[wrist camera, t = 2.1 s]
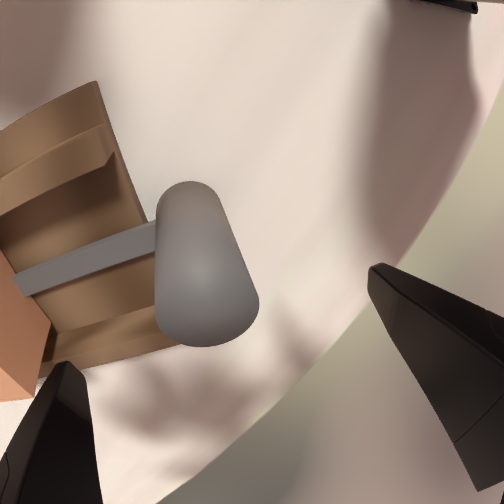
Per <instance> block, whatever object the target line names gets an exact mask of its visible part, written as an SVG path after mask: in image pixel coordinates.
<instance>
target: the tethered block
mask: <svg viewBox="0 0 504 504" xmlns="http://www.w3.org/2000/svg"><path fill="white" fill-rule="evenodd" d="M153 251H155V274H154V289H155V319H156V322H157V324H158V326H159V328H160V329H161V331H162V332H163V333H164V334H165V335H166V336H167V337H169V338H170V339H172V340H173V341H175V342H178V343H180V344H183V345H187V346H192V347H210V346H216V345H220V344H223V343H226V342H229V341H231V340H233V339H235V338H237V337H238V336H240V335H241V334H243V333H244V332H245V331H246V330H247V329H248V328H249V327H250V326H251V325H252V323H253V322H254V320H255V318H256V316H257V314H258V310H259V297H258V294H257V292H256V289H255V287H254V284H253V282H252V279H251V277H250V274H249V272H248V269H247V267H246V264H245V262H244V259H243V257H242V254H241V252H240V249H239V247H238V244H237V242H236V239H235V237H234V234H233V232H232V229H231V227H230V224H229V222H228V219H227V217H226V214H225V212H224V209H223V207H222V204H221V202H220V199H219V197H218V195H217V194H216V193H215V191H214V190H213V189H211V188H210V187H209V186H207V185H205V184H203V183H200V182H194V181H187V182H181V183H178V184H176V185H174V186H172V187H170V188H169V189H168V190H166V191H165V192H164V194H163V195H162V196H161V198H160V199H159V202H158V204H157V209H156V220H154V221H151V222H148V223H145V224H142V225H139V226H136V227H134V228H131V229H128V230H125V231H123V232H120V233H117V234H114V235H112V236H109V237H106V238H104V239H101V240H98V241H96V242H93V243H90V244H88V245H85V246H83V247H80V248H77V249H75V250H72V251H70V252H67V253H65V254H62V255H60V256H57V257H55V258H52V259H50V260H48V261H45V262H43V263H40V264H38V265H36V266H33V267H31V268H29V269H26V270H24V271H22V272H19V273H17V274H16V273H15V272H14V270H13V269H12V267H11V265H10V264H9V262H8V261H7V259H6V257H5V256H4V254H3V253H2V251H1V249H0V402H5V401H14V400H22V399H29V398H34V395H35V390H36V384H37V379H38V374H39V370H40V365H41V361H42V356H43V352H44V348H45V344H46V340H47V336H48V332H49V329H50V325H51V321H50V320H49V319H48V318H47V316H46V315H45V314H44V312H43V311H42V310H41V308H40V307H39V306H38V305H37V303H36V302H35V300H34V299H33V298H32V296H31V295H32V294H34V293H37V292H40V291H43V290H45V289H48V288H51V287H53V286H56V285H59V284H61V283H64V282H67V281H70V280H73V279H75V278H78V277H81V276H84V275H86V274H89V273H92V272H95V271H98V270H101V269H103V268H106V267H109V266H112V265H115V264H118V263H121V262H124V261H126V260H129V259H132V258H135V257H138V256H141V255H144V254H147V253H150V252H153Z"/></svg>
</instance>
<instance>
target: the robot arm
mask: <svg viewBox="0 0 504 504" xmlns="http://www.w3.org/2000/svg"><path fill="white" fill-rule="evenodd" d="M411 1H417V2H423V3H428V4H433V5H437V6H442V7H446V8H450V9H454V10H458V11H462V12H466V13H469V14H477V13H478V6H477V2H489V3H501V4H504V0H411ZM367 289H368V293H369V296H370V298H371V300H372V302H373V304H374V306H375V308H376V310H377V312H378V314H379V316H380V317H381V320H382V322H383V323H384V325H385V328H386V329H387V332H388V334H389V335H390V337H391V339H392V341H393V342H394V344H395V346H396V347H397V349H398V350H399V352H400V353H401V355H402V357H403V358H404V360H405V361H406V363H407V365H408V366H409V368H410V369H411V371H412V373H413V374H414V376H415V378H416V379H417V381H418V383H419V384H420V386H421V388H422V390H423V391H424V393H425V395H426V396H427V398H428V400H429V401H430V403H431V405H432V407H433V408H434V410H435V412H436V414H437V415H438V417H439V419H440V421H441V423H442V424H443V426H444V428H445V430H446V432H447V433H448V435H449V437H450V439H451V441H452V443H454V444H453V445H454V447H455V449H456V451H457V452H458V454H459V456H460V458H461V460H462V462H463V464H464V466H465V468H466V470H467V472H468V474H469V476H470V478H471V480H472V482H473V484H474V486H475V488H476V490H477V491H478V492H479V491H482V490H484V489H486V488H489V487H491V486H493V485H495V484H498V483H500V482H502V481H504V318H503V317H501V316H499V315H497V314H495V313H493V312H491V311H488V310H486V309H484V308H482V307H480V306H478V305H476V304H474V303H472V302H469V301H467V300H465V299H463V298H461V297H459V296H457V295H455V294H452V293H450V292H448V291H446V290H443V289H441V288H439V287H437V286H435V285H433V284H430V283H428V282H426V281H424V280H422V279H419V278H417V277H415V276H413V275H410V274H408V273H406V272H404V271H401V270H399V269H397V268H395V267H392V266H390V265H388V264H385V263H378V264H376V265H373V266H371V267H370V268H369V271H368V286H367ZM0 504H103V500H102V494H101V489H100V483H99V476H98V469H97V461H96V453H95V444H94V433H93V424H92V418H91V412H90V405H89V398H88V391H87V383H86V379H85V377H84V375H83V374H82V373H81V372H80V371H79V370H78V369H77V368H76V367H75V366H74V365H73V364H72V363H71V362H70V361H67V360H66V361H62V362H58V363H57V364H56V365H55V366H54V368H53V369H52V371H51V373H50V374H49V376H48V377H47V379H46V380H45V382H44V384H43V385H42V387H41V389H40V390H39V392H38V393H37V395H36V397H35V398H34V400H33V402H32V404H31V405H30V407H29V409H28V410H27V412H26V414H25V416H24V417H23V419H22V421H21V423H20V425H19V426H18V428H17V430H16V432H15V434H14V435H13V437H12V439H11V441H10V443H9V445H8V447H7V449H6V452H5V453H4V455H3V457H2V459H1V461H0ZM500 504H504V493H503V496H502V499H501V503H500Z"/></svg>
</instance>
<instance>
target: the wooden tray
mask: <svg viewBox="0 0 504 504" xmlns="http://www.w3.org/2000/svg"><path fill="white" fill-rule="evenodd" d="M145 223H148V221H147V218H146V216H145V214H144V211H143V209H142V206H141V204H140V201H139V199H138V196H137V194H136V191H135V189H134V186H133V184H132V181H131V179H130V176H129V173H128V171H127V168H126V165H125V163H124V160H123V157H122V155H121V152H120V149H119V146H118V144H117V141H116V138H115V135H114V132H113V129H112V126H111V123H110V121H109V118H108V115H107V112H106V108H105V105H104V102H103V99H102V96H101V93H100V90H99V86H98V83H97V81H92V82H89V83H87V84H85V85H83V86H81V87H78V88H76V89H74V90H72V91H70V92H68V93H66V94H64V95H62V96H60V97H58V98H56V99H54V100H52V101H50V102H48V103H47V104H45V105H43V106H41V107H39V108H38V109H36V110H34V111H32V112H31V113H29V114H27V115H25V116H24V117H22V118H20V119H19V120H17V121H16V122H14V123H12V124H11V125H9V126H8V127H6V128H5V129H3V130H2V131H0V249H1V251H2V253H3V254H4V256H5V257H6V259H7V261H8V262H9V264H10V265H11V267H12V269H13V270H14V272H15V273H16V274H17V273H19V272H22V271H24V270H26V269H29V268H31V267H33V266H36V265H38V264H40V263H43V262H45V261H48V260H50V259H52V258H55V257H57V256H60V255H62V254H65V253H67V252H70V251H72V250H75V249H77V248H80V247H83V246H85V245H88V244H90V243H93V242H96V241H98V240H101V239H104V238H106V237H109V236H112V235H114V234H117V233H120V232H123V231H125V230H128V229H131V228H134V227H136V226H139V225H142V224H145ZM154 274H155V251H153V252H150V253H147V254H144V255H141V256H138V257H135V258H132V259H129V260H126V261H124V262H121V263H118V264H115V265H112V266H109V267H106V268H103V269H101V270H98V271H95V272H92V273H89V274H86V275H84V276H81V277H78V278H75V279H73V280H70V281H67V282H64V283H61V284H59V285H56V286H53V287H51V288H48V289H45V290H43V291H40V292H37V293H34V294H32V295H31V296H32V298H33V299H34V300H35V302H36V303H37V305H38V306H39V307H40V308H41V310H42V311H43V312H44V314H45V315H46V316H47V318H48V319H49V320H50V321H51V325H50V329H49V332H48V336H47V340H46V344H45V348H44V352H43V356H42V361H41V365H40V370H39V374H38V378H42V377H48V376H49V374H50V373H51V371H52V369H53V368H54V366H55V365H56V364H57V363H58V362H62V361H66V360H67V361H70V362H71V363H72V364H73V365H74V366H75V367H76V368H77V369H78V370H81V369H85V368H90V367H94V366H98V365H102V364H107V363H111V362H115V361H119V360H123V359H127V358H131V357H135V356H139V355H142V354H146V353H150V352H154V351H157V350H161V349H165V348H168V347H172V346H175V345H179V344H180V343H178V342H175V341H173V340H172V339H170V338H169V337H167V336H166V335H165V334H164V333H163V332H162V331H161V329H160V328H159V326H158V324H157V322H156V319H155V289H154Z"/></svg>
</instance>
